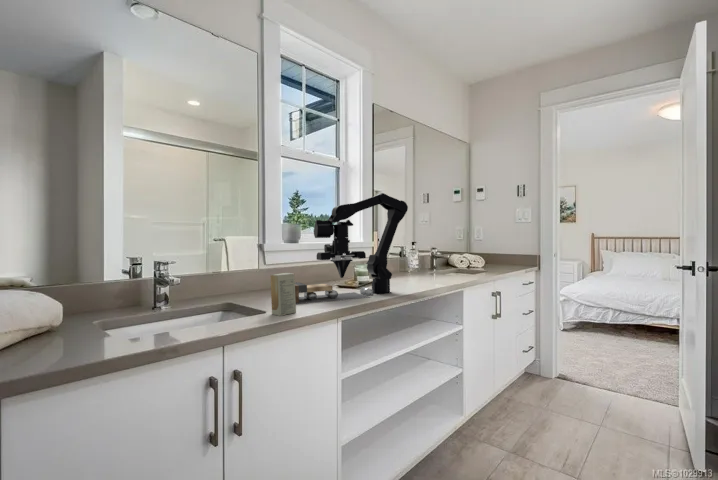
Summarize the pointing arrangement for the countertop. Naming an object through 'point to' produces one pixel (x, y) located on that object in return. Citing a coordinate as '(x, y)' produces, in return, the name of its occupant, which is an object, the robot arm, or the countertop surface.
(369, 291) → the cylinder
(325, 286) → the oak slab
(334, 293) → the cylinder
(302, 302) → the rubber mat
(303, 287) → the walnut stop
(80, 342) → the countertop surface
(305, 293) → the loose steel roller
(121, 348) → the countertop surface
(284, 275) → the skincare box
